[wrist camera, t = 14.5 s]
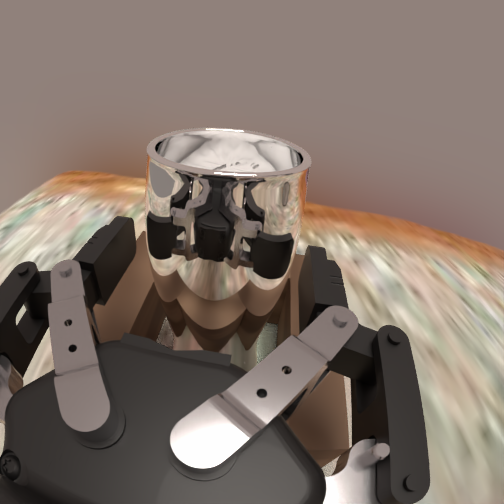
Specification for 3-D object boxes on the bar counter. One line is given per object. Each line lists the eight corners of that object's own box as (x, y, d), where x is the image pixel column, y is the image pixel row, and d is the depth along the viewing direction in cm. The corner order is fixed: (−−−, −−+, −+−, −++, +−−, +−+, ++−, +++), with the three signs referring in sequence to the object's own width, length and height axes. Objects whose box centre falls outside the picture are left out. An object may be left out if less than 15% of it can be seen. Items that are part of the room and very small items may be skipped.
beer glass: (157, 399, 17) (111, 169, 8) (173, 321, 23) (167, 123, 14) (264, 409, 17) (337, 190, 9) (261, 329, 23) (301, 136, 14)
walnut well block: (311, 302, 26) (326, 258, 23) (317, 470, 14) (349, 449, 11) (148, 276, 26) (143, 230, 23) (81, 424, 14) (49, 389, 11)
